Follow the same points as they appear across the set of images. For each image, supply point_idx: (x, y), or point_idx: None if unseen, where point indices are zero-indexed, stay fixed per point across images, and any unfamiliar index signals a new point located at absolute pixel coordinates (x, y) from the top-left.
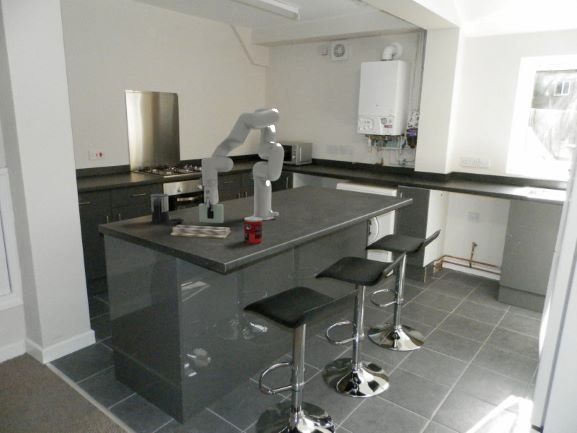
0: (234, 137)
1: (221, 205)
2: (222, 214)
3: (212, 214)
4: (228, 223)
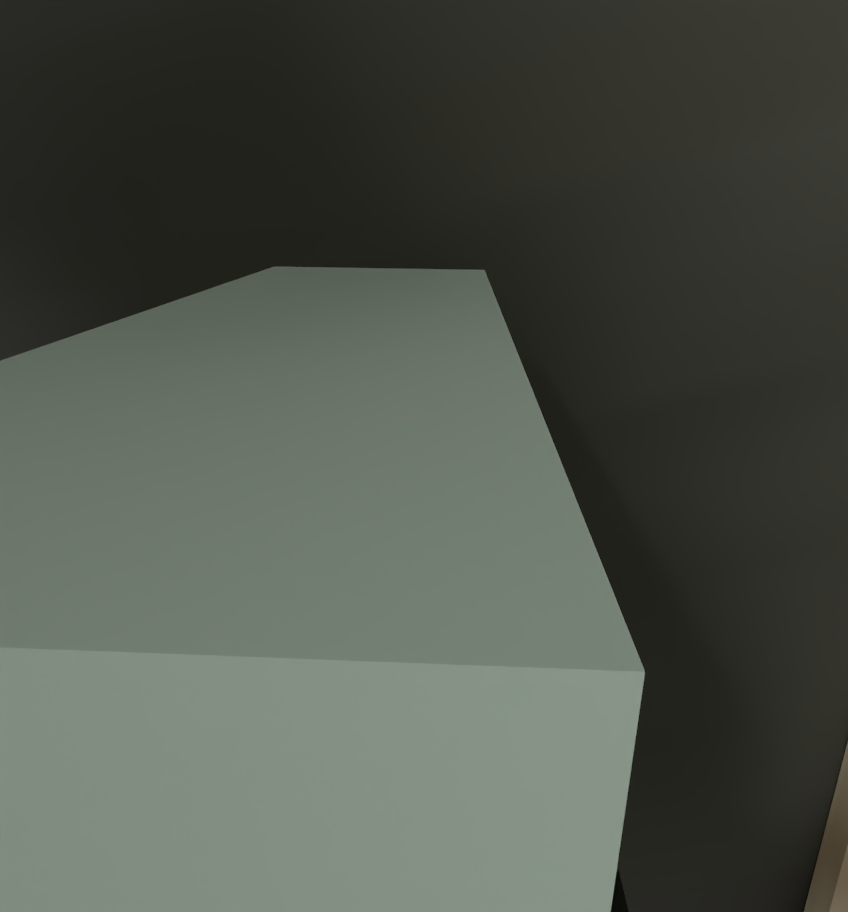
0: None
1: (604, 754)
2: (426, 312)
3: None
4: (11, 190)
